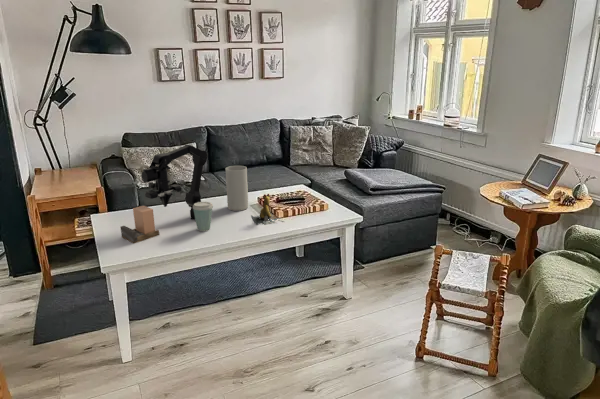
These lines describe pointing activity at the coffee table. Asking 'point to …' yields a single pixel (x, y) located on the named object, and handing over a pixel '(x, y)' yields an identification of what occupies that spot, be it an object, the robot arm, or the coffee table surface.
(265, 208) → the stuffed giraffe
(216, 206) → the coffee table surface
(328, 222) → the coffee table surface
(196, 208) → the disposable coffee cup
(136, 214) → the terracotta slab
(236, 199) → the cylinder vase
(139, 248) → the coffee table surface
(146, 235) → the roller track
